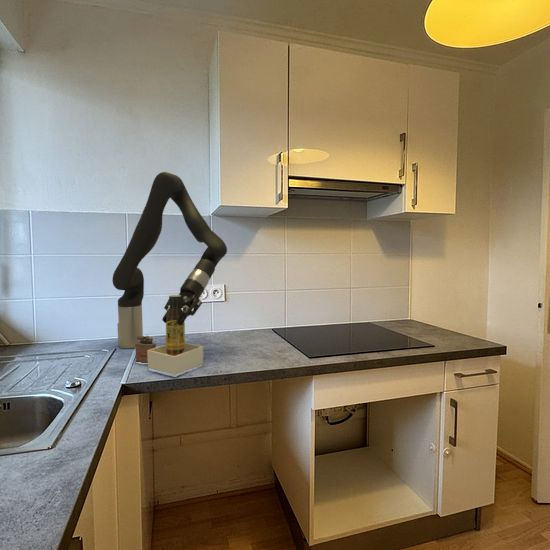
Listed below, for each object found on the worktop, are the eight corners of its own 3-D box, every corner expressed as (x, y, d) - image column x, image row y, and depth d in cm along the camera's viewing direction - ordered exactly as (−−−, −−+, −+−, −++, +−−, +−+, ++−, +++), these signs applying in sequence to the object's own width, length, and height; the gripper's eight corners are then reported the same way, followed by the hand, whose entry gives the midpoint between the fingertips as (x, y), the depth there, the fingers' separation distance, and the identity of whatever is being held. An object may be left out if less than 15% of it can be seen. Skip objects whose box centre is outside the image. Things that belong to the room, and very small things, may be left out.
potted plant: (158, 362, 121) (157, 335, 120) (152, 365, 117) (152, 338, 117) (139, 360, 123) (138, 334, 122) (133, 363, 120) (132, 336, 119)
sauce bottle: (165, 356, 111) (163, 297, 109) (166, 350, 117) (164, 294, 115) (186, 354, 113) (183, 296, 111) (185, 348, 119) (183, 293, 117)
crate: (147, 370, 113) (147, 350, 112) (176, 359, 124) (176, 341, 124) (175, 378, 107) (174, 357, 106) (203, 365, 118) (202, 346, 117)
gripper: (175, 276, 123) (150, 314, 114) (205, 278, 116) (180, 319, 106) (186, 289, 128) (163, 326, 119) (215, 292, 121) (192, 331, 111)
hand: (171, 322), depth 113 cm, fingers closed on sauce bottle, 6 cm apart
